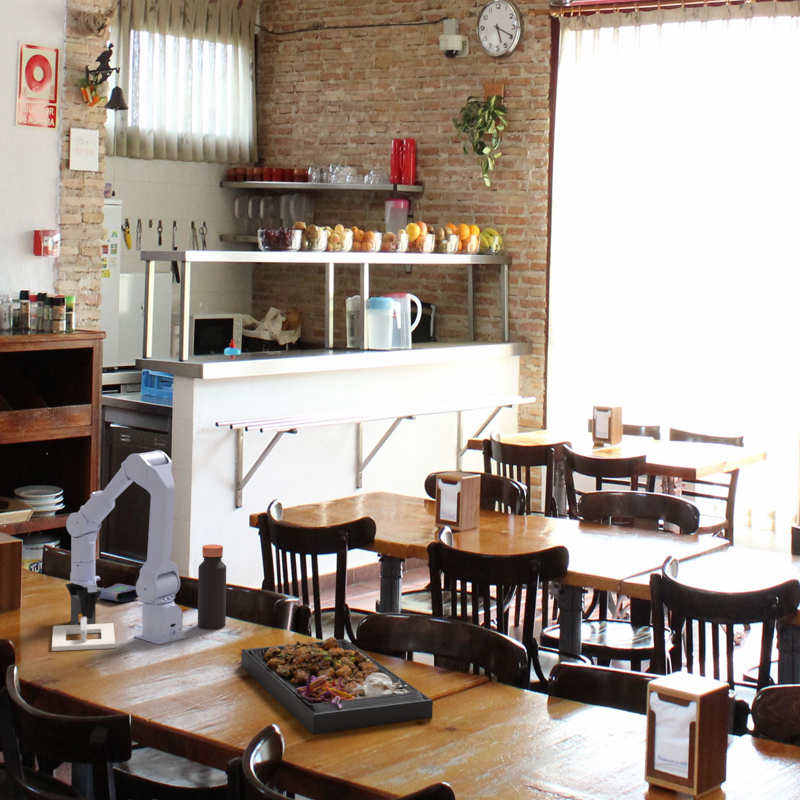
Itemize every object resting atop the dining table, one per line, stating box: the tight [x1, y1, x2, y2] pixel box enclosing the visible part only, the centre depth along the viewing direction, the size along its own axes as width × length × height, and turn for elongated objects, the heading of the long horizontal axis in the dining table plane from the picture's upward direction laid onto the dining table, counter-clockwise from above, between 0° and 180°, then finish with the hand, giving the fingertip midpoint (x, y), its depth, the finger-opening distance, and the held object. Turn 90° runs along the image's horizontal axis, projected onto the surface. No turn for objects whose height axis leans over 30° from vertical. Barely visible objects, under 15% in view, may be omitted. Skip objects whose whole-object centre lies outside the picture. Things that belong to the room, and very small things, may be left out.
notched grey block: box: [70, 595, 97, 625], centre depth 295 cm, size 6×5×6 cm
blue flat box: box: [97, 583, 139, 603], centre depth 319 cm, size 9×3×11 cm
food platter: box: [240, 636, 434, 736], centre depth 248 cm, size 45×25×10 cm, turn 24°
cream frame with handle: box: [51, 616, 117, 652], centre depth 282 cm, size 18×14×4 cm
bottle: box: [197, 543, 227, 631], centre depth 294 cm, size 7×7×20 cm
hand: (83, 615), depth 295 cm, fingers closed on notched grey block, 6 cm apart
